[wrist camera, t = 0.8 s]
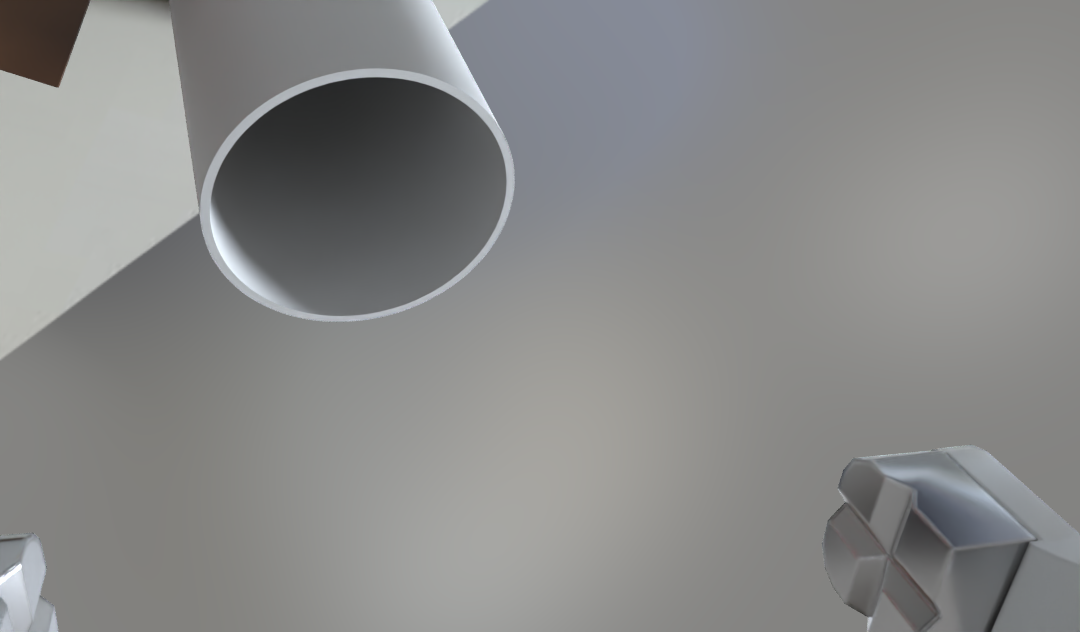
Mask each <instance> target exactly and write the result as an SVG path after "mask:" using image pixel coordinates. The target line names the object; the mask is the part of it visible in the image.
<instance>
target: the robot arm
mask: <svg viewBox="0 0 1080 632" xmlns="http://www.w3.org/2000/svg"><path fill="white" fill-rule="evenodd" d="M838 489H839V491H840V494H841V496H842V498H843V500H844V502H845V503H844V504H843V505H842V506H841V507H840V508H839V509H838V510H837V511H836V512H835V513H834V515H832V516H831V518H830V519H829V520H828V523H827V527H826V531H825V534H824V539H823V543H822V547H823V555H824V564H825V569H826V572H827V574H828V577H829V579H830V582H831V584H832V586H833V588H834V589H835V591H836V592H837V594H838V595H839V596H840V598H841V599H842V601H843V602H844V604H846V605H848V606H850V607H851V608H853V609H855V610H857V611H858V612H860V613H862V614H864V615H865V616H867V617H868V626H867V632H1080V534H1079V533H1078V532H1077V531H1076V530H1075V529H1074V528H1073V527H1072V526H1070V525H1069V524H1068V523H1067V522H1066V521H1065V520H1064V519H1063V518H1061V517H1060V516H1059V515H1058V514H1057V513H1056V512H1055V511H1054V510H1052V509H1051V508H1050V507H1049V506H1048V505H1047V504H1046V503H1045V502H1043V501H1042V500H1041V499H1040V498H1039V497H1037V495H1035V494H1034V493H1033V492H1032V491H1031V490H1030V489H1029V488H1028V487H1026V486H1025V485H1024V484H1023V483H1022V482H1021V481H1020V480H1019V479H1017V478H1016V477H1015V476H1014V475H1013V474H1012V473H1011V472H1009V471H1008V470H1007V469H1006V468H1005V467H1004V466H1003V465H1002V464H1001V463H999V462H998V461H997V460H996V459H995V458H994V457H993V456H992V455H990V454H989V453H988V452H987V451H986V450H983V449H981V448H978V447H975V446H973V445H966V446H957V447H949V448H941V449H933V450H931V451H923V452H912V453H902V454H892V455H882V456H872V457H862V458H854V459H852V460H851V462H850V463H849V464H848V465H847V466H846V467H845V469H844V470H843V473H842V476H841V479H840V483H839V486H838ZM46 569H47V566H46V562H45V558H44V554H43V549H42V545H41V541H40V538H38V537H37V536H36V535H35V534H34V533H24V534H9V535H0V632H58V624H57V619H56V613H55V608H54V605H53V604H51V603H50V602H49V601H47V600H46V599H44V598H43V597H42V596H40V592H41V589H42V585H43V581H44V577H45V573H46Z"/></svg>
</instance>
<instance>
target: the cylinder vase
mask: <svg viewBox="0 0 1080 632" xmlns="http://www.w3.org/2000/svg"><path fill="white" fill-rule="evenodd" d="M169 5H170V12H171V19H172V26H173V33H174V40H175V46H176V53H177V60H178V67H179V74H180V81H181V88H182V95H183V102H184V109H185V116H186V123H187V130H188V137H189V144H190V151H191V158H192V165H193V172H194V179H195V185H196V192H197V199H198V206H199V213H200V220H201V226H202V232H203V236H204V239H205V242H206V245H207V248H208V250H209V252H210V254H211V256H212V258H213V260H214V262H215V263H216V265H217V266H218V268H219V269H220V270H221V272H222V273H223V274H224V275H225V277H227V279H228V280H229V281H230V282H231V283H232V284H233V285H234V286H236V287H237V288H238V289H239V290H240V291H242V292H243V293H244V294H246V295H247V296H248V297H250V298H251V299H253V300H255V301H257V302H259V303H260V304H262V305H264V306H266V307H268V308H271V309H273V310H276V311H278V312H281V313H284V314H287V315H291V316H295V317H299V318H304V319H309V320H317V321H329V322H331V321H332V322H347V321H359V320H367V319H372V318H378V317H383V316H387V315H391V314H394V313H398V312H401V311H404V310H407V309H409V308H412V307H414V306H417V305H419V304H421V303H423V302H426V301H428V300H429V299H431V298H433V297H435V296H437V295H439V294H440V293H442V292H444V291H445V290H447V289H448V288H450V287H451V286H453V285H454V284H455V283H457V282H458V281H459V280H461V279H462V278H463V277H464V276H465V275H467V274H468V273H469V272H470V271H471V270H472V269H473V268H474V267H475V266H476V265H477V264H478V263H479V262H480V261H481V260H482V258H483V257H484V256H485V255H486V254H487V253H488V251H489V250H490V249H491V247H492V246H493V244H494V243H495V241H496V240H497V238H498V236H499V234H500V233H501V231H502V229H503V227H504V224H505V222H506V220H507V217H508V214H509V211H510V208H511V204H512V199H513V193H514V167H513V160H512V156H511V152H510V149H509V146H508V143H507V141H506V139H505V137H504V135H503V133H502V131H501V129H500V127H499V125H498V123H497V121H496V120H495V118H494V116H493V114H492V112H491V110H490V108H489V106H488V105H487V103H486V101H485V99H484V97H483V95H482V93H481V92H480V90H479V88H478V86H477V84H476V82H475V80H474V78H473V76H472V75H471V73H470V71H469V69H468V67H467V65H466V63H465V61H464V60H463V58H462V56H461V54H460V52H459V50H458V48H457V46H456V45H455V43H454V41H453V39H452V37H451V35H450V33H449V31H448V30H447V28H446V26H445V24H444V22H443V20H442V18H441V16H440V15H439V13H438V11H437V9H436V7H435V5H434V3H433V1H432V0H169Z"/></svg>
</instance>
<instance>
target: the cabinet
mask: <svg viewBox="0 0 1080 632" xmlns="http://www.w3.org/2000/svg"><path fill="white" fill-rule="evenodd" d="M89 3H90V0H0V70H3V71H6V72H9V73H12V74H16V75H19V76H22V77H25V78H28V79H32V80H35V81H38V82H41V83H44V84H47V85H51V86H54V87H59V86H60V83H61V80H62V77H63V75H64V72H65V69H66V66H67V64H68V61H69V58H70V55H71V53H72V50H73V47H74V44H75V41H76V39H77V36H78V33H79V30H80V28H81V25H82V22H83V19H84V17H85V14H86V11H87V8H88V6H89Z"/></svg>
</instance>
